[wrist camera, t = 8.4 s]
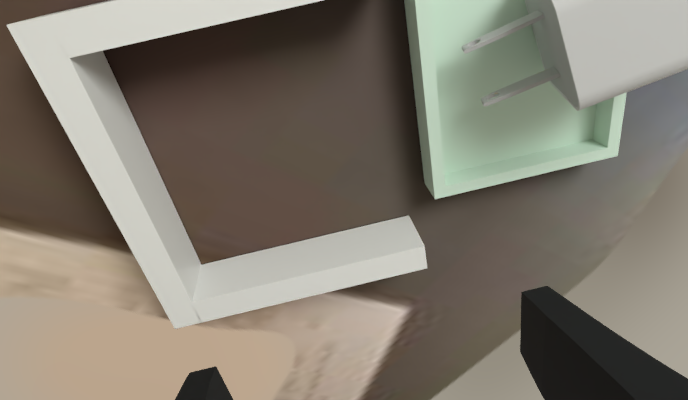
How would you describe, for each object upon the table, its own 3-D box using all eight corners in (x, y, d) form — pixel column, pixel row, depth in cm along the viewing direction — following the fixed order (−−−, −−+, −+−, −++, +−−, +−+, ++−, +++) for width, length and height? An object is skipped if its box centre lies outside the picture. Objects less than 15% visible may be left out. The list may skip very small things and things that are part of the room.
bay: (411, 236, 21) (427, 268, 19) (185, 290, 21) (174, 328, 19) (370, -59, 15) (387, -61, 13) (46, 14, 14) (6, 25, 12)
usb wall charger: (671, 28, 16) (746, 56, 12) (481, 106, 18) (500, 148, 14) (655, -91, 14) (737, -96, 11) (447, 13, 16) (459, 35, 13)
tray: (595, 142, 20) (617, 155, 18) (424, 183, 20) (434, 199, 18) (629, -164, 14) (664, -176, 13) (391, -111, 14) (403, -118, 13)
